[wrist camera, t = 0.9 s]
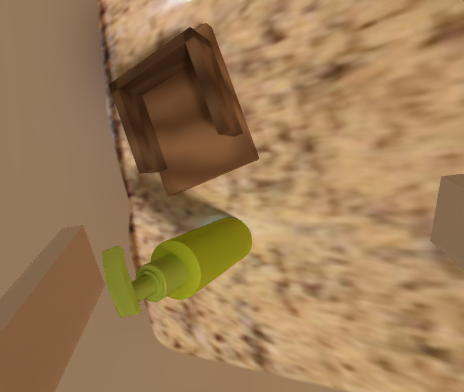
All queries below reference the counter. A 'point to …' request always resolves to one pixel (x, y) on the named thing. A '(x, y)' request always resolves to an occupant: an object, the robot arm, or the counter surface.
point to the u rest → (184, 113)
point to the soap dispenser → (177, 265)
